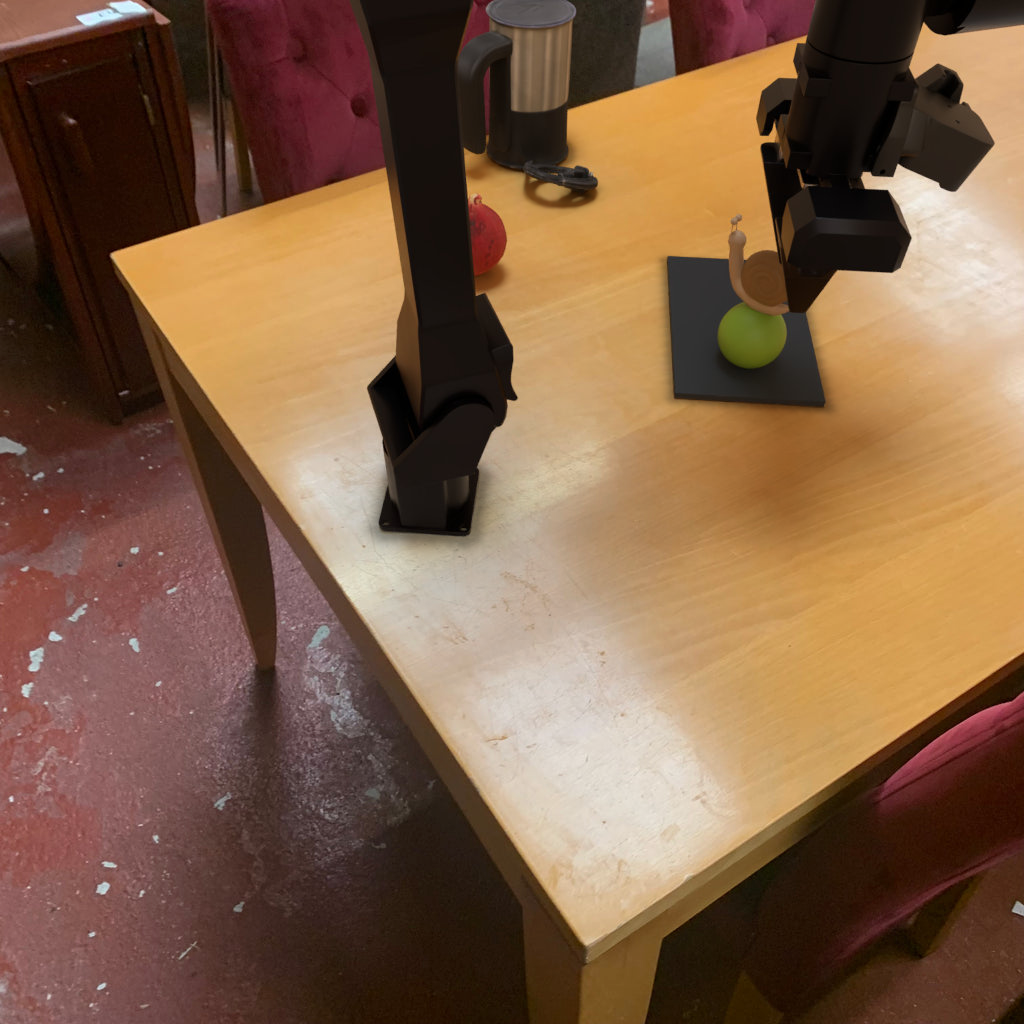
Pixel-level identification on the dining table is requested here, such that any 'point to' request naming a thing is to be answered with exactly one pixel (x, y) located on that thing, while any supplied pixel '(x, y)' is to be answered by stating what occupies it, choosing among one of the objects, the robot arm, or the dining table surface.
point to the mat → (699, 361)
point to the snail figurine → (753, 306)
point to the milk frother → (522, 90)
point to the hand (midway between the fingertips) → (791, 286)
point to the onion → (485, 235)
